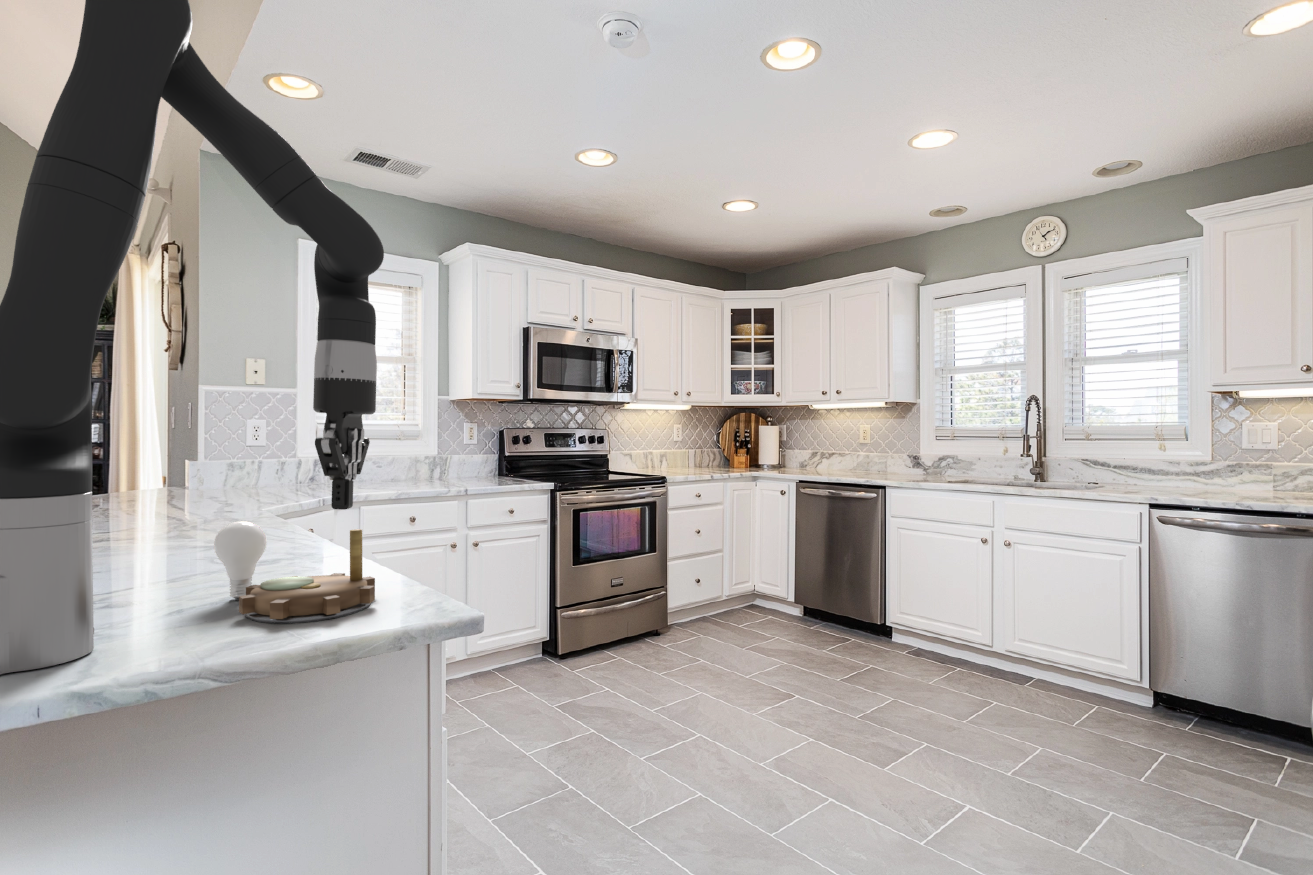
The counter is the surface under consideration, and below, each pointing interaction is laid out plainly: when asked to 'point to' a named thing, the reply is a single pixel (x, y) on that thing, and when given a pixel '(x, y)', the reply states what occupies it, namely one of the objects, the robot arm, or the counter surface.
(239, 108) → the robot arm
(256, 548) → the lightbulb
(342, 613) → the plate
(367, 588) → the sprocket
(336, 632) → the counter surface
